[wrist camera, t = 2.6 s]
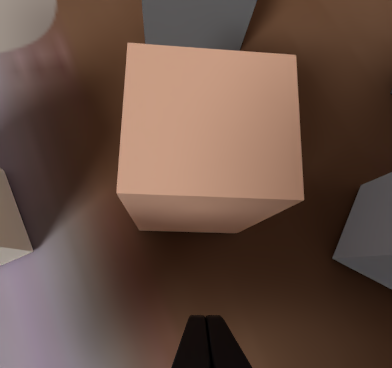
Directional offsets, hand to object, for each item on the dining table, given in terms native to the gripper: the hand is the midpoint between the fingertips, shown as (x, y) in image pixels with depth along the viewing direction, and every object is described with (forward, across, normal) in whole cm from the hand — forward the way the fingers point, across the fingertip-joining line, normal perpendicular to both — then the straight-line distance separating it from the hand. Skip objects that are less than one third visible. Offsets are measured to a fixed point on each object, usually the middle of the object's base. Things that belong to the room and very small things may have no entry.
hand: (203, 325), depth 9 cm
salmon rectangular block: (+8, 0, +1) cm, 8 cm away
